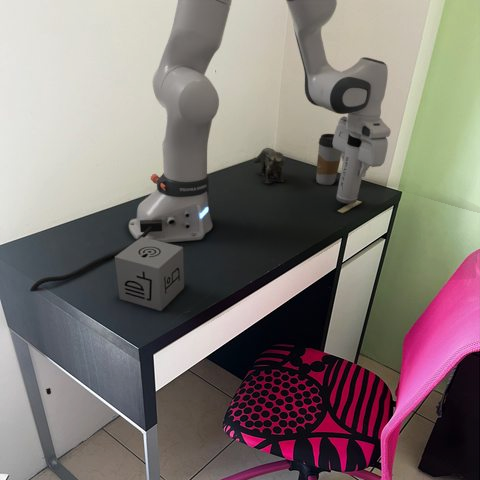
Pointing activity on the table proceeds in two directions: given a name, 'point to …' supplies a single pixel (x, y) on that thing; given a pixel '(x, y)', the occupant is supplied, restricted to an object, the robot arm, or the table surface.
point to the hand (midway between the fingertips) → (353, 172)
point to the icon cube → (150, 273)
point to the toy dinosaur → (270, 164)
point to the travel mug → (350, 173)
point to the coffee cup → (327, 160)
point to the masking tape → (349, 206)
